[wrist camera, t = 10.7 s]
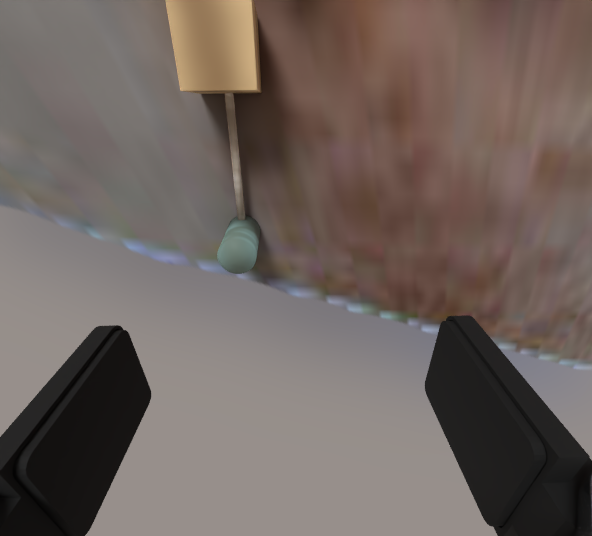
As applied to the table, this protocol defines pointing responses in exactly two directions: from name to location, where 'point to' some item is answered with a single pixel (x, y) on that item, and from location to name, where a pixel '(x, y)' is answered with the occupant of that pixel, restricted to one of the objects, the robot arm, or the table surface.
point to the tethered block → (221, 90)
